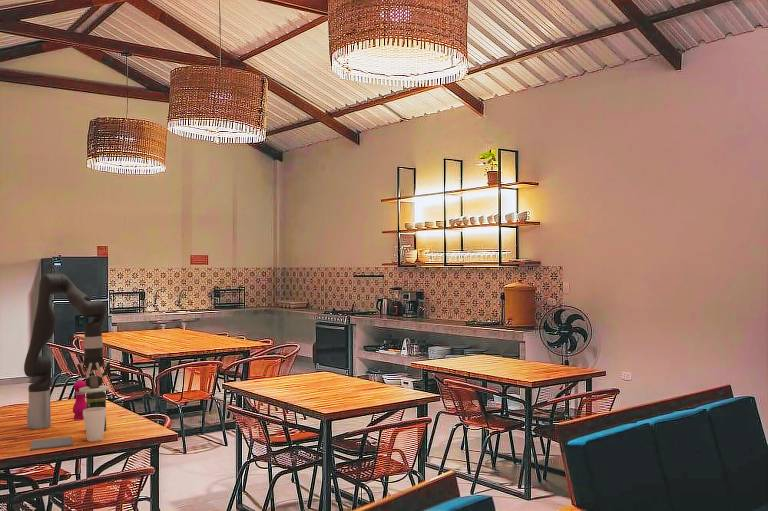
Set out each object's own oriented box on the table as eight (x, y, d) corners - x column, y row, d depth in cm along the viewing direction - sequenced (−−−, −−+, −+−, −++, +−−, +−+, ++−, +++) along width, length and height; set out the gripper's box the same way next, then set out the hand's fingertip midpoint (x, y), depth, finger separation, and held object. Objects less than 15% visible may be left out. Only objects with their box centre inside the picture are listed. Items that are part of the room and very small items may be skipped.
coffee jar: (108, 430, 334) (107, 390, 334) (90, 433, 329) (89, 392, 329) (102, 427, 342) (101, 387, 342) (84, 429, 337) (84, 389, 337)
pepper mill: (75, 417, 366) (74, 377, 366) (90, 416, 367) (89, 376, 367) (70, 420, 359) (69, 379, 359) (85, 419, 360) (85, 378, 360)
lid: (74, 392, 312) (74, 378, 312) (85, 388, 324) (85, 374, 324) (103, 392, 312) (103, 378, 312) (112, 387, 324) (112, 373, 324)
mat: (30, 450, 301) (30, 448, 301) (31, 442, 315) (31, 440, 315) (72, 445, 307) (72, 444, 307) (72, 437, 322) (72, 436, 322)
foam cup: (98, 442, 312) (97, 411, 312) (79, 441, 314) (78, 411, 314) (111, 437, 321) (110, 407, 321) (92, 436, 323) (91, 406, 323)
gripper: (75, 348, 312) (76, 389, 312) (111, 346, 317) (112, 386, 317) (75, 346, 319) (76, 386, 318) (110, 344, 324) (111, 383, 324)
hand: (94, 386), depth 318 cm, fingers closed on lid, 4 cm apart
